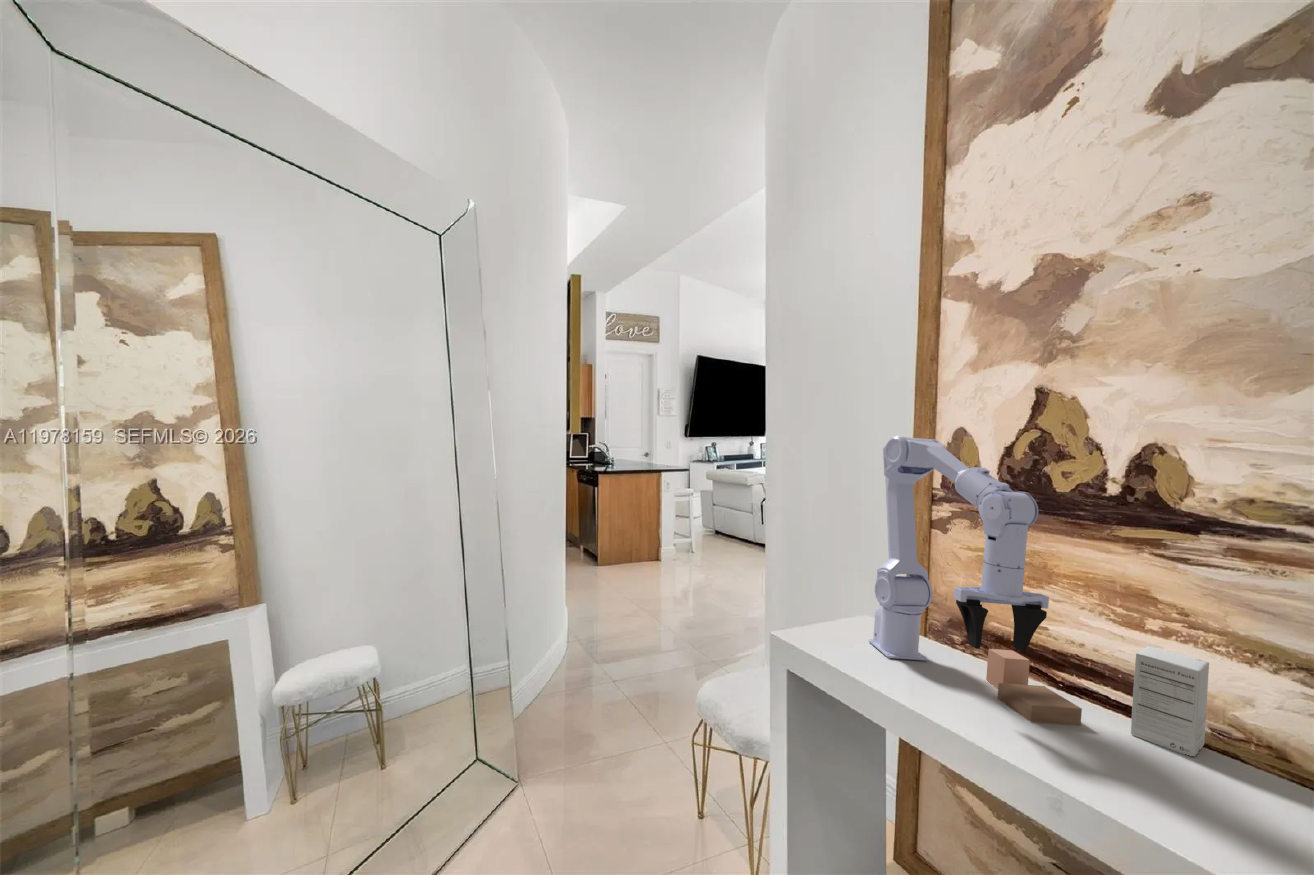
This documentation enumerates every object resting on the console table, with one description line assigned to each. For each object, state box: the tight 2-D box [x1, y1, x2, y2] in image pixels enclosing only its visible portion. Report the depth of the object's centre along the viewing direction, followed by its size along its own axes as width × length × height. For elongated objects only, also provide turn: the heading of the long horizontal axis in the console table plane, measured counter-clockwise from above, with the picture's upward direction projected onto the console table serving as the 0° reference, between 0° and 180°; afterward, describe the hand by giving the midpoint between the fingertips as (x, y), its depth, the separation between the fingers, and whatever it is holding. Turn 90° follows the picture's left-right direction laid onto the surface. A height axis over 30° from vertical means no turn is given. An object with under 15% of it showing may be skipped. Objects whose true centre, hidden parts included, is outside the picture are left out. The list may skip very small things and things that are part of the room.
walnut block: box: [996, 683, 1083, 726], centre depth 90 cm, size 8×8×3 cm
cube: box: [985, 648, 1031, 690], centre depth 99 cm, size 4×4×6 cm
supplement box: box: [1130, 646, 1210, 757], centre depth 84 cm, size 7×7×13 cm
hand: (996, 648), depth 90 cm, fingers open, 7 cm apart
